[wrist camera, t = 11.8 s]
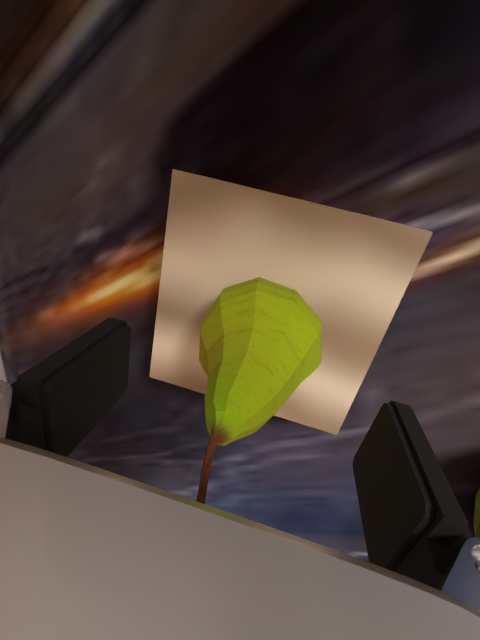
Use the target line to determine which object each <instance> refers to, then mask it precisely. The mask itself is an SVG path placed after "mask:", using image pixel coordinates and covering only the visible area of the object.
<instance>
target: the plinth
mask: <svg viewBox="0 0 480 640" xmlns="http://www.w3.org/2000/svg"><path fill="white" fill-rule="evenodd" d="M432 233H433V232H431V231H427V230H423V229H420V228H416V227H412V226H408V225H404V224H400V223H396V222H392V221H388V220H384V219H379V218H375V217H371V216H367V215H363V214H359V213H355V212H350V211H346V210H342V209H338V208H334V207H330V206H326V205H321V204H317V203H313V202H309V201H305V200H301V199H297V198H292V197H288V196H284V195H280V194H276V193H272V192H268V191H264V190H259V189H255V188H251V187H247V186H243V185H239V184H235V183H230V182H226V181H222V180H218V179H214V178H210V177H206V176H201V175H197V174H193V173H188V172H184V171H179V170H175V169H173V170H172V179H171V188H170V197H169V206H168V215H167V224H166V233H165V242H164V251H163V260H162V269H161V278H160V286H159V295H158V304H157V313H156V322H155V331H154V340H153V349H152V358H151V367H150V376H149V377H151V378H154V379H158V380H161V381H164V382H167V383H171V384H174V385H177V386H180V387H184V388H187V389H190V390H193V391H197V392H200V393H203V394H205V393H206V387H207V382H208V376H207V374H206V373H205V372H204V370H203V368H202V366H201V364H200V361H199V345H200V326H201V322H202V320H203V319H204V317H205V315H206V314H207V312H208V311H209V309H210V308H211V306H212V305H213V304H214V302H215V301H216V299H217V298H218V296H219V295H220V293H221V292H222V290H223V289H224V288H226V287H229V286H232V285H235V284H239V283H242V282H245V281H248V280H252V279H255V278H258V277H260V278H263V279H266V280H268V281H271V282H274V283H277V284H279V285H282V286H285V287H288V288H290V289H293V290H296V291H297V292H298V293H299V294H300V296H301V297H302V298H303V299H304V300H305V301H306V303H307V304H308V305H309V306H310V307H311V309H312V310H313V311H314V312H315V313H316V314H317V316H318V317H319V318H320V321H321V325H322V350H321V363H320V365H319V367H318V368H317V369H316V370H315V371H314V372H313V373H312V374H311V375H310V376H308V377H307V378H306V379H305V380H304V381H303V382H301V384H300V385H299V386H298V387H297V389H296V390H295V391H294V392H293V393H292V395H291V396H290V397H289V398H288V400H287V401H286V402H285V403H284V404H283V406H282V407H281V408H280V409H279V410H278V411H277V412H276V413H275V414H274V416H277V417H281V418H284V419H287V420H290V421H294V422H297V423H300V424H303V425H307V426H310V427H313V428H316V429H320V430H323V431H326V432H329V433H333V434H336V435H337V434H338V432H339V430H340V427H341V425H342V423H343V421H344V419H345V417H346V415H347V413H348V411H349V408H350V406H351V404H352V402H353V400H354V398H355V396H356V394H357V392H358V389H359V387H360V385H361V383H362V381H363V379H364V377H365V375H366V373H367V371H368V368H369V366H370V364H371V362H372V360H373V358H374V356H375V354H376V352H377V349H378V347H379V345H380V343H381V341H382V339H383V337H384V335H385V333H386V330H387V328H388V326H389V324H390V322H391V320H392V318H393V316H394V314H395V311H396V309H397V307H398V305H399V303H400V301H401V299H402V297H403V295H404V292H405V290H406V288H407V286H408V284H409V282H410V280H411V278H412V276H413V273H414V271H415V269H416V267H417V265H418V263H419V261H420V259H421V257H422V254H423V252H424V250H425V248H426V246H427V244H428V242H429V240H430V238H431V235H432Z"/></svg>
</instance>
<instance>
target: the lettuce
mask: <svg viewBox="0 0 480 640" xmlns="http://www.w3.org/2000/svg"><path fill="white" fill-rule="evenodd" d="M473 522H474V530H475V537H477V538H480V488H479V490H478V492H477V494H476V499H475V510H474V521H473Z"/></svg>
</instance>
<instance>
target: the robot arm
mask: <svg viewBox="0 0 480 640" xmlns="http://www.w3.org/2000/svg"><path fill="white" fill-rule="evenodd" d="M130 336H131V329H130V327H128V326H127V323H126V322H125V321H122V320H118V319H115V318H108V319H107V320H105V321H104V322H102V323H100V324H99V325H97V326H96V327H94V328H93V329H91V330H90V331H88V332H86V333H85V334H83V335H82V336H80V337H79V338H77V339H76V340H74V341H72V342H71V343H69V344H68V345H66V346H65V347H63V348H62V349H60V350H59V351H57V352H55V353H54V354H52V355H51V356H49V357H48V358H46V359H45V360H43V361H41V362H40V363H38V364H37V365H35V366H34V367H32V368H31V369H29V370H27V371H26V372H24V373H23V374H21V375H20V376H18V377H17V381H16V382H14V383H13V384H11V385H9V384H8V383H7V382H4V381H2V380H0V640H480V538H477V537H474V538H473V537H472V534H471V532H470V530H469V528H468V526H469V523H468V521H467V519H466V517H465V515H464V513H463V511H462V509H461V507H460V505H459V503H458V501H457V499H456V497H455V495H454V493H453V491H452V489H451V487H450V485H449V483H448V481H447V479H446V477H445V475H444V472H443V470H442V468H441V466H440V464H439V462H438V460H437V458H436V456H435V454H434V452H433V450H432V448H431V446H430V444H429V442H428V440H427V438H426V436H425V434H424V432H423V430H422V428H421V426H420V424H419V422H418V420H417V418H416V416H415V414H414V412H413V410H412V408H411V407H410V406H409V405H405V404H402V403H398V402H395V401H390V402H389V403H388V404H387V403H384V404H383V405H382V407H381V409H380V411H379V412H378V414H377V416H376V418H375V420H374V422H373V423H372V425H371V427H370V429H369V431H368V433H367V434H366V436H365V438H364V440H363V442H362V444H361V445H360V447H359V449H358V451H357V453H356V455H355V457H354V460H353V471H354V477H355V482H356V488H357V494H358V500H359V505H360V511H361V517H362V523H363V529H364V534H365V540H366V546H367V552H368V557H369V562H366V561H364V560H361V559H358V558H356V557H353V556H350V555H348V554H345V553H342V552H339V551H336V550H334V549H331V548H328V547H325V546H322V545H319V544H317V543H314V542H311V541H308V540H305V539H303V538H300V537H297V536H294V535H291V534H288V533H286V532H283V531H280V530H277V529H274V528H271V527H269V526H266V525H263V524H260V523H257V522H254V521H252V520H249V519H246V518H243V517H240V516H237V515H234V514H231V513H229V512H226V511H223V510H220V509H217V508H214V507H211V506H209V505H206V504H203V503H200V502H197V501H194V500H191V499H188V498H185V497H183V496H180V495H177V494H174V493H171V492H168V491H165V490H162V489H159V488H157V487H154V486H151V485H148V484H145V483H142V482H139V481H136V480H133V479H130V478H127V477H124V476H121V475H118V474H116V473H113V472H110V471H107V470H104V469H101V468H98V467H95V466H92V465H89V464H86V463H83V462H80V461H77V460H74V459H71V458H68V457H67V456H68V455H69V454H70V453H71V452H72V450H73V449H74V448H75V447H76V446H77V445H78V444H79V443H80V442H81V440H82V439H83V438H84V437H85V436H86V435H87V434H88V433H89V432H90V430H91V429H92V428H93V427H94V426H95V425H96V424H97V423H98V422H99V420H100V419H101V418H102V417H103V416H104V415H105V414H106V413H107V412H108V410H109V409H110V408H111V407H112V406H113V405H114V404H115V403H116V402H117V400H118V399H119V398H120V397H121V396H122V395H123V394H124V392H125V390H126V388H127V383H128V367H129V352H130Z"/></svg>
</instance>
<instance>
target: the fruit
mask: <svg viewBox="0 0 480 640" xmlns="http://www.w3.org/2000/svg"><path fill="white" fill-rule="evenodd" d="M321 350H322V325H321V321H320V318H319V317H318V316H317V314H316V313H315V312H314V311H313V310H312V309H311V307H310V306H309V305H308V304H307V303H306V301H305V300H304V299H303V298H302V297H301V296H300V294H299V293H298V292H297V291H296V290H293V289H290V288H288V287H285V286H282V285H279V284H277V283H274V282H271V281H268V280H266V279H263V278H260V277H258V278H255V279H252V280H248V281H245V282H242V283H239V284H235V285H232V286H229V287H226V288H224V289H223V290H222V292H221V293H220V295H219V296H218V298H217V299H216V301H215V302H214V304H213V305H212V306H211V308H210V309H209V311H208V312H207V314H206V315H205V317H204V319H203V320H202V322H201V326H200V345H199V361H200V364H201V366H202V368H203V370H204V372H205V373H206V374H207V376H208V382H207V387H206V393H205V419H206V426H207V429H208V433H209V435H210V440H209V443H208V446H207V450H206V454H205V458H204V463H203V467H202V472H201V478H200V484H199V490H198V496H197V502H200V503H203V504H205V497H206V491H207V485H208V478H209V473H210V468H211V464H212V460H213V455H214V451H215V449H216V447H217V445H223V446H225V445H226V444H228V443H230V442H233V441H235V440H238V439H240V438H243V437H245V436H247V435H250V434H252V433H254V432H256V431H257V430H258V429H259V428H261V427H262V426H263V425H264V424H265V423H266V422H267V421H268V420H269V419H270V418H271V417H272V416H273V415H274V414H275V413H276V412H277V411H278V410H279V409H280V408H281V407H282V406H283V404H284V403H285V402H286V401H287V400H288V398H289V397H290V396H291V395H292V393H293V392H294V391H295V390H296V389H297V387H298V386H299V385H300V384H301V382H303V381H304V380H305V379H306V378H307V377H308V376H310V375H311V374H312V373H313V372H314V371H315V370H316V369H317V368H318V367H319V365H320V363H321Z"/></svg>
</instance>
